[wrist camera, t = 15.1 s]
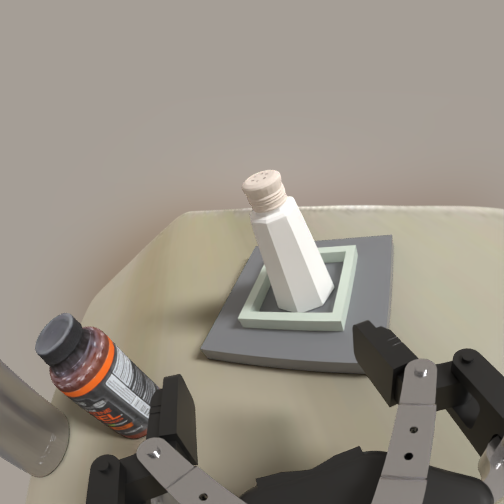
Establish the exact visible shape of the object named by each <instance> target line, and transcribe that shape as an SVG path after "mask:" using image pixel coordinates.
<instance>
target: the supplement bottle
mask: <svg viewBox="0 0 504 504" xmlns="http://www.w3.org/2000/svg"><path fill="white" fill-rule="evenodd" d="M35 350H36V352H37V354H38V355H39V356H40V357H41V358H42V359H43V360H44V361H45V362H46V364H48V365H49V366H50V376H51V380H52V382H53V383H54V385H55V386H56V387H57V388H58V389H59V390H60V391H61V392H63V393H64V394H65V395H66V396H67V397H69V398H70V399H71V400H72V401H74V402H75V403H76V404H78V405H79V406H80V407H81V408H83V409H84V410H86V411H87V412H88V413H90V414H91V415H93V416H94V417H95V418H97V419H98V420H99V421H101V422H102V423H104V424H105V425H107V426H108V427H110V428H111V429H112V430H114V431H116V432H117V433H119V434H121V435H122V436H125V437H127V438H132V439H133V438H140V437H143V436H145V435H147V427H148V418H149V410H150V402H151V397H152V396H153V394H154V393H155V391H156V390H158V389H160V388H159V387H158V386H157V385H156V384H155V383H154V382H153V381H152V380H151V379H150V378H148V377H147V376H146V375H145V374H144V373H143V372H142V371H141V370H140V369H139V368H138V367H137V366H136V365H135V364H134V363H133V362H132V361H131V360H130V359H129V358H128V357H127V356H126V355H125V354H124V353H123V352H122V351H121V350H120V349H119V348H118V346H116V345H115V344H114V342H112V341H111V340H110V338H109V337H108V336H107V335H106V334H105V333H104V332H103V331H101V330H100V329H98V328H95V327H84V328H82V325H81V324H80V323H79V322H78V321H77V320H76V319H75V318H74V317H73V316H72V315H71V314H69V313H63V314H61V315H58V316H57V317H55V318H54V319H52V320H51V321H50V322H49V323H48V324H47V325H46V326H45V327H44V329H43V330H42V331H41V333H40V335H39V337H38V339H37V342H36V346H35Z"/></svg>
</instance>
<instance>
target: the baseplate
mask: <svg viewBox="0 0 504 504" xmlns="http://www.w3.org/2000/svg"><path fill="white" fill-rule="evenodd" d="M314 242H315V244H316V246H317V248H318V251H319V253H320V255H321V257H322V259H323V262H324V264H325V266H326V268H327V271H328V273H329V275H330V278H331V280H332V282H333V285H334V289H333V291H332V292H331V294H330V295H329V297H328V298H327V300H326V301H325V303H324V304H323V306H321V307H318V308H315V309H313V310H310V311H307V312H304V313H298V312H290V311H287V310H283V309H280V308H278V305H277V302H276V299H275V295H274V292H273V289H272V286H271V283H270V280H269V277H268V274H267V271H266V268H265V265H264V261H263V258H262V255H261V252H260V249H259V246H256V247H255V249H254V250H253V252H252V254H251V256H250V258H249V260H248V262H247V263H246V265H245V267H244V269H243V271H242V273H241V274H240V276H239V278H238V280H237V282H236V284H235V286H234V287H233V289H232V291H231V293H230V295H229V297H228V298H227V300H226V302H225V304H224V306H223V308H222V310H221V311H220V313H219V315H218V317H217V319H216V321H215V322H214V324H213V326H212V328H211V330H210V332H209V334H208V335H207V337H206V339H205V341H204V343H203V345H202V346H201V348H200V349H201V350H202V352H203V353H204V354H205V355H206V357H207V358H208V359H214V360H221V361H227V362H234V363H241V364H249V365H257V366H265V367H274V368H284V369H295V370H306V371H319V372H335V373H357V374H366V373H365V372H364V371H363V369H362V368H361V367H360V365H359V364H358V362H357V360H356V358H355V355H354V349H353V332H352V327H353V325H355V324H358V323H360V322H363V321H366V320H369V321H370V322H371V323H372V324H373V325H374V326H375V327H376V328H377V327H380V326H382V327H384V328H387V329H389V321H390V310H391V297H392V280H393V252H394V246H393V238H392V235H383V236H371V237H358V238H346V239H334V240H322V241H314Z"/></svg>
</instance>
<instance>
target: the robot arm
mask: <svg viewBox="0 0 504 504" xmlns="http://www.w3.org/2000/svg"><path fill="white" fill-rule="evenodd" d="M352 332H353V349H354V355H355V358H356V360H357V362H358V364H359V365H360V367H361V368H362V369H363V371H364V372H365V373H366V375H367V376H368V378H369V379H370V380H371V382H372V383H373V385H374V386H375V387H376V389H377V390H378V392H379V393H380V394H381V396H382V397H383V398H384V400H385V401H386V403H387V404H388V405H389V407H391V406H394V405H396V404H398V409H397V414H396V419H395V423H394V428H393V432H392V436H391V440H390V444H389V448H388V452H383V451H366V452H362V450H361V448H360V446H358V447H356V448H353V449H351V450H348V451H346V452H343V453H340V454H338V455H335V456H333V457H332V458H330V459H328V460H327V461H325V462H323V463H322V464H320V465H318V466H317V467H315V468H313V469H311V470H304V471H293V472H281V473H277V474H274V475H270V476H266V477H261V478H257V479H256V482H257V486H255V487H253V488H251V489H250V490H248V491H246V492H245V493H244V494H242V495H241V496H240V497H239V498H238V497H237V496H235V495H234V494H233V493H231V492H230V491H228V490H227V489H226V488H224V487H223V486H222V485H220V484H219V483H218V482H217V481H215V480H214V479H213V478H211V477H210V476H209V475H208V474H206V473H205V472H204V471H203V470H202V469H200V468H199V467H198V466H193V465H198V459H197V441H196V418H195V405H194V401H193V398H192V396H191V394H190V392H189V390H188V388H187V386H186V384H185V382H184V380H183V378H182V376H181V375H180V374H177V375H173V376H168V377H164V380H163V389H158V390H156V391H155V393H154V394H153V396H152V397H151V402H150V410H149V418H148V427H147V436H146V440H145V441H144V442H142V443H141V444H140V445H139V447H138V449H137V453H136V454H134V455H131V456H129V457H126V458H123V459H120V460H118V459H117V458H116V457H115V456H113V455H102V456H100V457H98V458H97V459H96V460H95V461H94V462H93V463H92V465H91V469H90V476H89V483H88V491H87V499H86V504H151V499H152V498H155V497H158V496H160V495H163V494H166V493H168V492H169V493H170V494H171V495H172V496H173V497H174V498H175V499H176V500H177V501H178V502H179V503H180V504H498V503H499V502H500V501H502V500H503V499H504V376H503V375H502V374H501V373H500V372H499V371H497V370H496V369H495V368H494V367H493V366H492V365H491V364H490V363H489V362H488V361H487V360H486V359H485V358H484V357H483V356H482V355H481V354H480V353H479V352H477V351H476V350H473V349H461V350H459V351H457V352H456V353H455V354H454V356H453V361H450V362H446V363H441V364H434V363H433V362H432V361H430V360H428V359H418V358H417V357H416V356H415V355H414V354H413V352H412V351H411V350H410V349H409V348H408V347H407V346H406V345H405V344H404V343H403V342H401V340H400V339H399V338H398V337H396V335H395V334H394V333H393V332H392V331H391V330H389V329H387V328H384V327H382V326H380V327H377V328H376V327H375V326H374V325H373V324H372V323H371V322H370V321H369V320H366V321H363V322H360V323H358V324H355V325H353V327H352ZM443 409H446V410H447V412H448V413H449V414H450V416H451V417H452V418H453V420H454V421H455V422H456V424H457V425H458V426H459V428H460V429H461V430H462V432H463V433H464V434H465V436H466V437H467V439H468V440H469V441H470V443H471V444H472V445H473V447H474V448H475V450H476V451H477V452H478V454H479V455H480V457H481V458H480V460H479V462H478V470H479V473H480V475H481V480H480V479H478V478H475V477H471V476H467V475H463V474H459V473H455V472H451V471H447V470H444V469H440V468H436V467H433V466H430V465H429V463H430V457H431V450H432V443H433V436H434V427H435V418H436V411H439V410H443ZM68 440H69V424H68V421H67V418H66V416H65V415H64V413H62V412H61V411H60V410H58V409H57V408H56V407H55V406H53V405H52V404H51V403H49V402H48V401H47V400H46V399H44V398H43V397H42V396H41V395H39V394H38V393H37V392H36V391H35V390H34V389H32V388H31V387H30V386H29V385H28V384H27V383H25V382H24V381H23V380H22V379H21V378H19V376H17V375H16V374H15V373H14V372H13V371H12V370H11V369H10V368H9V367H8V366H6V364H4V363H3V362H2V361H1V360H0V457H2V458H3V459H5V460H6V461H8V462H10V463H11V464H13V465H15V466H16V467H18V468H20V469H22V470H23V471H25V472H27V473H29V474H30V475H32V476H35V477H43V476H46V475H48V474H49V473H51V472H52V471H53V470H54V469H55V468H56V467H57V466H58V465H59V463H60V462H61V460H62V458H63V456H64V454H65V451H66V448H67V445H68Z"/></svg>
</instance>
